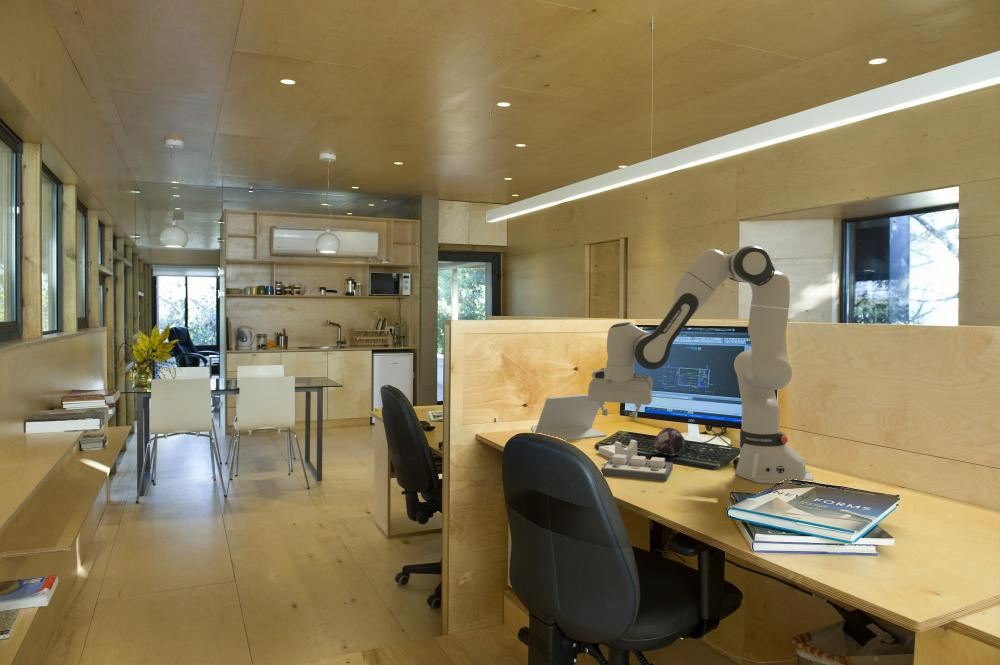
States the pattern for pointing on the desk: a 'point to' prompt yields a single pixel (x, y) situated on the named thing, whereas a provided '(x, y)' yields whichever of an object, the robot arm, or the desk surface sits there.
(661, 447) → the mineral specimen
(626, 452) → the bracket
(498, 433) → the desk surface
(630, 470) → the button panel
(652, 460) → the button near
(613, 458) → the button far
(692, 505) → the desk surface
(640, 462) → the button middle
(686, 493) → the desk surface
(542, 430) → the tablet stand
